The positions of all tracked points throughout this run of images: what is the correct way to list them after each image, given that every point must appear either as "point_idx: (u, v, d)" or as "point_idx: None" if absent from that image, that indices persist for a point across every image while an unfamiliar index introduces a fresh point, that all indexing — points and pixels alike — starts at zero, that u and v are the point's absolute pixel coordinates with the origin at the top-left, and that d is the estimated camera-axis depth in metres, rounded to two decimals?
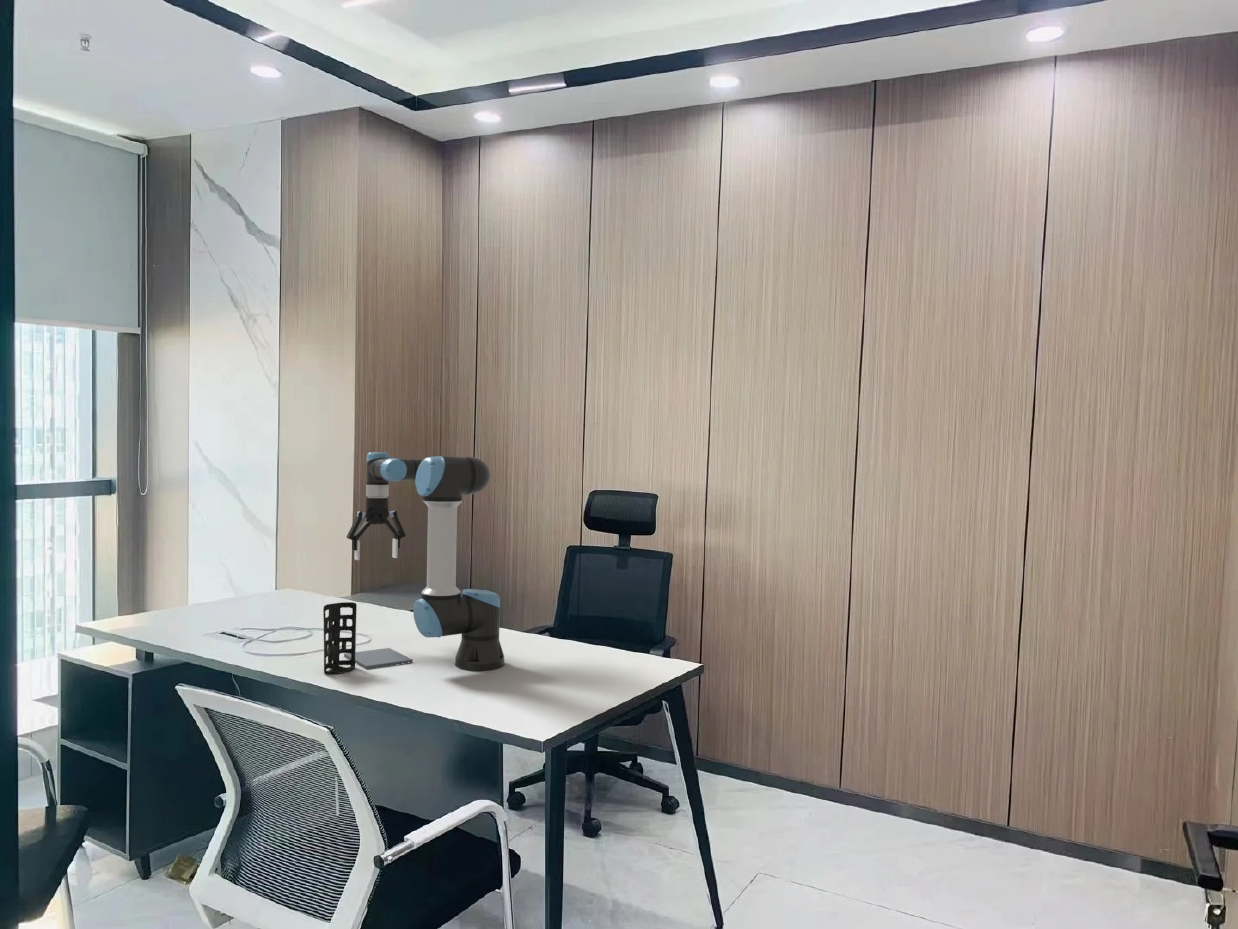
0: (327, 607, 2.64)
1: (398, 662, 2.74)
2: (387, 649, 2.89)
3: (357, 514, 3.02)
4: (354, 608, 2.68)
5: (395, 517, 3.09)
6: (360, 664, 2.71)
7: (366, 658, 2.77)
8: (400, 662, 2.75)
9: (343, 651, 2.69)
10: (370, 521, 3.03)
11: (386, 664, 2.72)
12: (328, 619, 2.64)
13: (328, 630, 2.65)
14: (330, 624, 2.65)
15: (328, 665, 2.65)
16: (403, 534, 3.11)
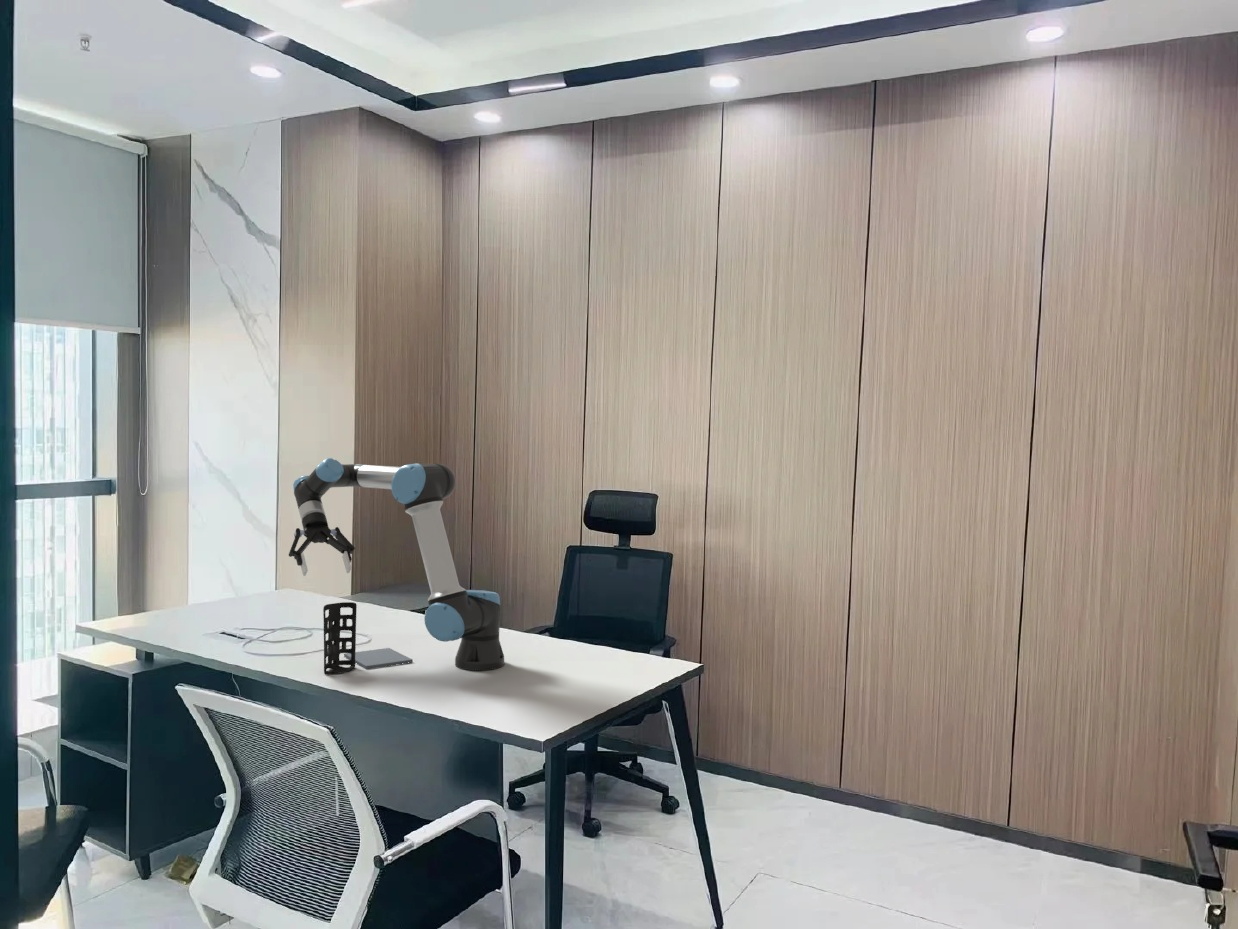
0: (327, 607, 2.64)
1: (398, 662, 2.74)
2: (387, 649, 2.89)
3: (295, 533, 2.79)
4: (354, 607, 2.68)
5: (338, 532, 2.86)
6: (360, 664, 2.71)
7: (366, 658, 2.77)
8: (400, 662, 2.75)
9: (343, 651, 2.69)
10: (310, 535, 2.79)
11: (386, 664, 2.72)
12: (328, 619, 2.64)
13: (328, 630, 2.65)
14: (330, 624, 2.65)
15: (328, 665, 2.65)
16: (352, 547, 2.84)
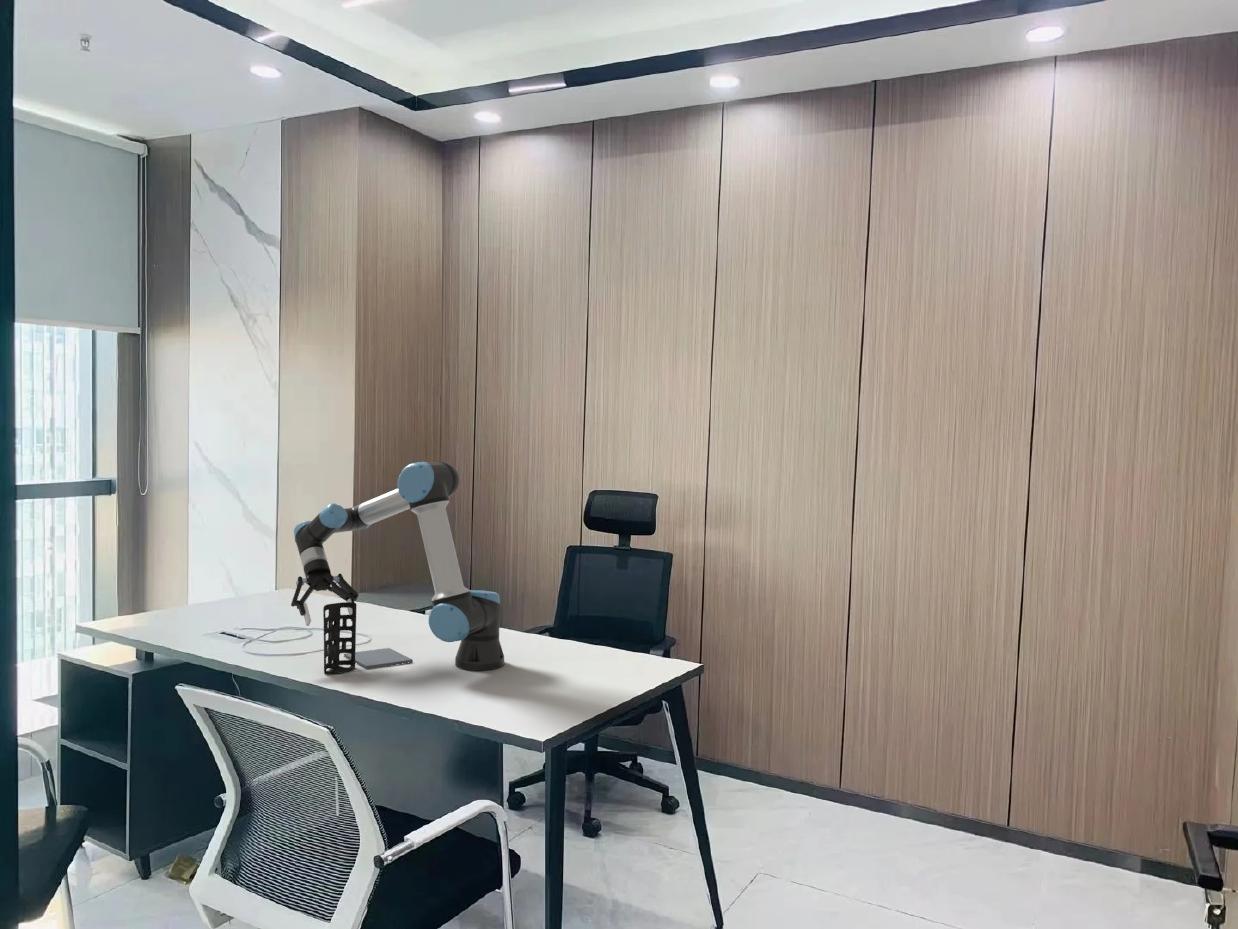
0: (327, 607, 2.64)
1: (398, 662, 2.74)
2: (387, 649, 2.89)
3: (297, 581, 2.72)
4: (354, 607, 2.68)
5: (341, 579, 2.79)
6: (360, 664, 2.71)
7: (366, 658, 2.77)
8: (400, 662, 2.75)
9: (343, 651, 2.69)
10: (313, 583, 2.73)
11: (386, 664, 2.72)
12: (328, 619, 2.64)
13: (328, 630, 2.65)
14: (330, 624, 2.65)
15: (328, 665, 2.65)
16: (355, 594, 2.78)
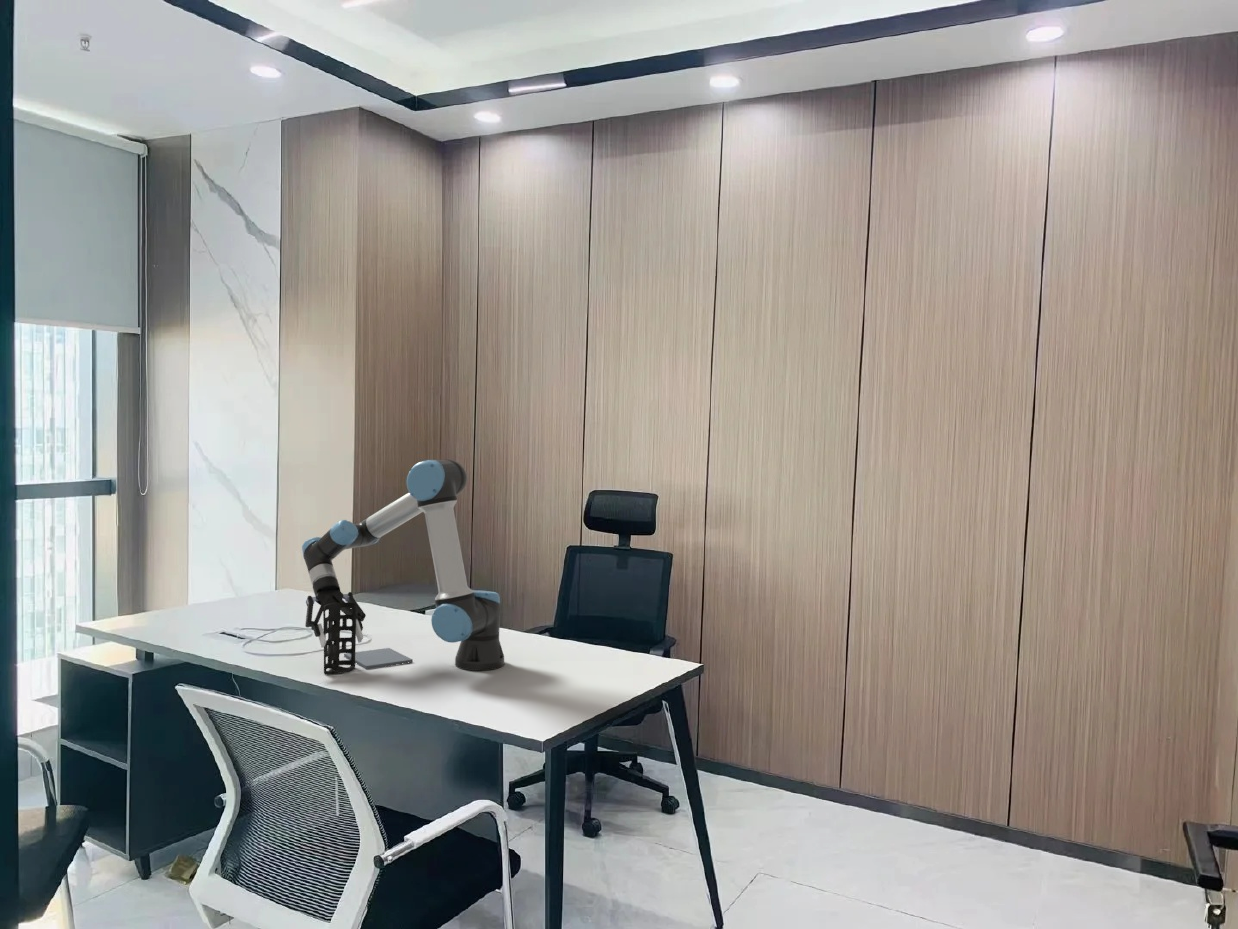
0: (327, 607, 2.64)
1: (398, 662, 2.74)
2: (387, 649, 2.89)
3: (307, 601, 2.67)
4: (354, 608, 2.68)
5: (350, 598, 2.74)
6: (360, 664, 2.71)
7: (366, 658, 2.77)
8: (400, 662, 2.75)
9: (343, 651, 2.69)
10: (323, 602, 2.68)
11: (386, 664, 2.72)
12: (328, 619, 2.64)
13: (328, 630, 2.65)
14: (330, 624, 2.65)
15: (328, 665, 2.65)
16: (363, 614, 2.72)
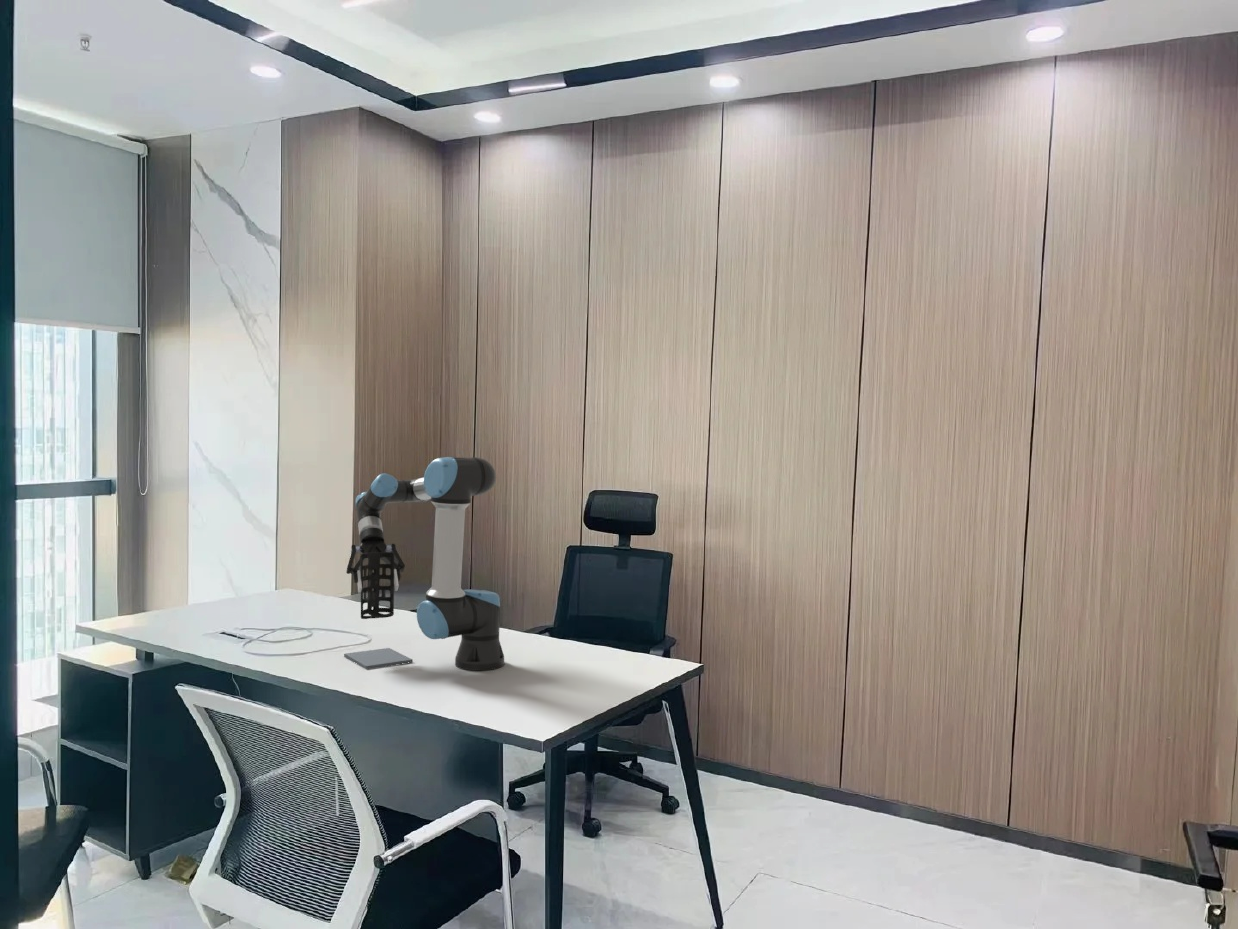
0: (366, 555, 2.77)
1: (398, 662, 2.74)
2: (387, 649, 2.89)
3: (351, 550, 2.82)
4: (392, 557, 2.80)
5: (393, 549, 2.86)
6: (360, 664, 2.71)
7: (366, 658, 2.77)
8: (400, 662, 2.75)
9: (382, 599, 2.81)
10: (366, 551, 2.82)
11: (386, 664, 2.72)
12: (367, 567, 2.78)
13: (367, 577, 2.78)
14: (369, 572, 2.79)
15: (367, 611, 2.78)
16: (402, 564, 2.83)
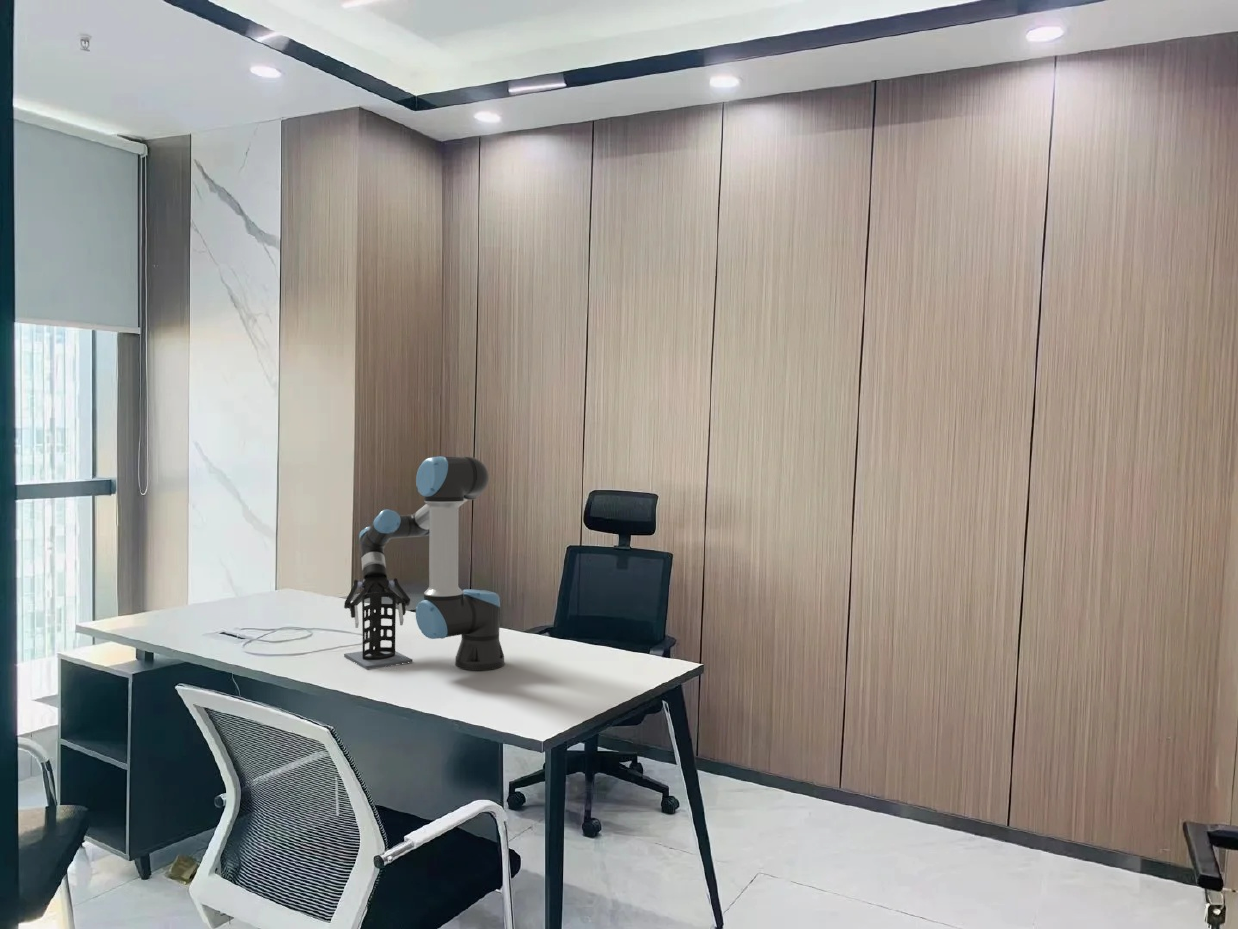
0: (367, 596, 2.78)
1: (398, 662, 2.74)
2: None
3: (353, 584, 2.84)
4: (394, 597, 2.81)
5: (396, 584, 2.88)
6: (360, 664, 2.71)
7: None
8: (400, 662, 2.75)
9: (384, 639, 2.82)
10: (367, 587, 2.83)
11: (386, 664, 2.72)
12: (369, 607, 2.79)
13: (369, 617, 2.79)
14: (371, 612, 2.80)
15: (369, 651, 2.79)
16: (407, 599, 2.85)
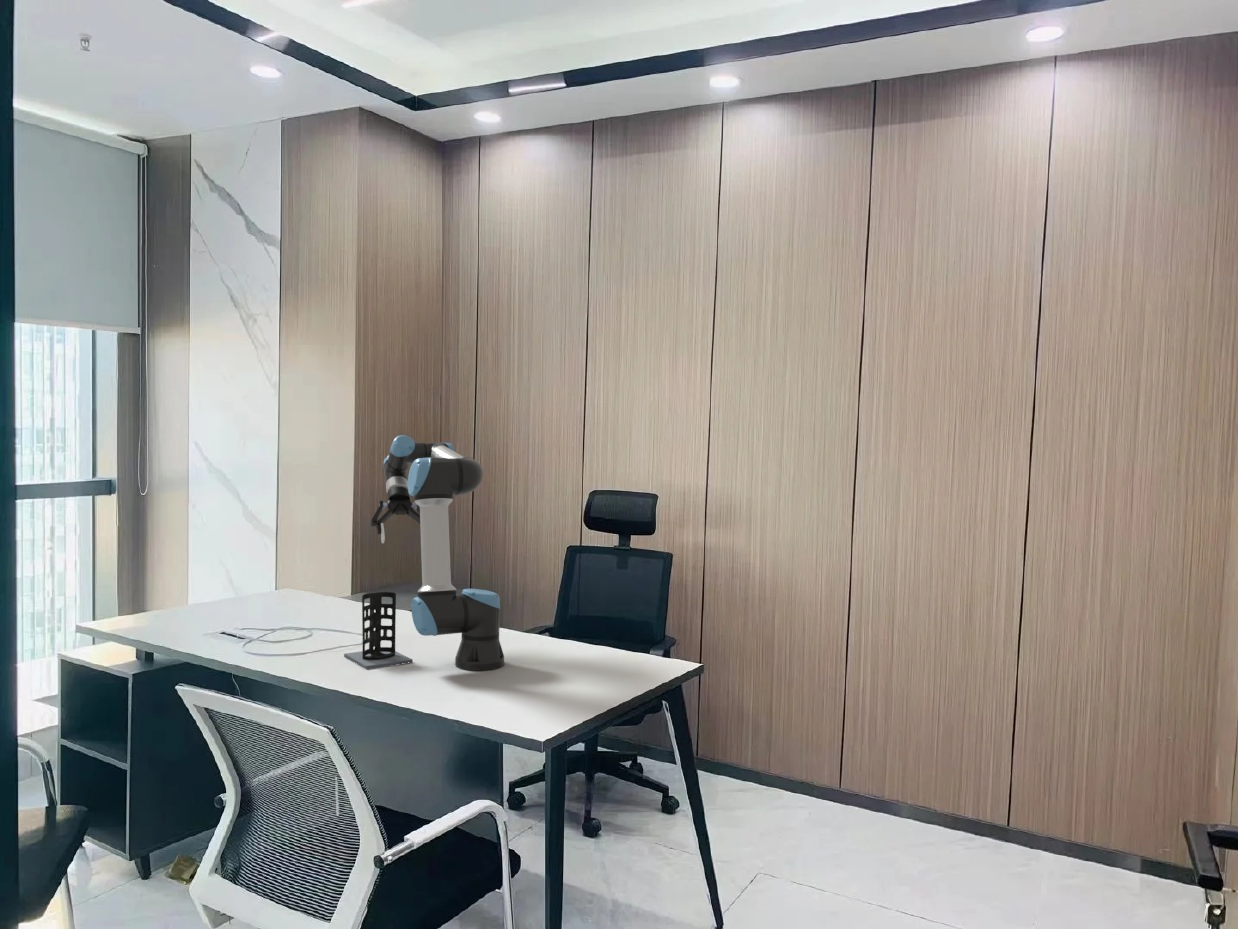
0: (367, 596, 2.78)
1: (398, 662, 2.74)
2: None
3: (379, 505, 3.03)
4: (394, 597, 2.81)
5: (418, 505, 3.07)
6: (360, 664, 2.71)
7: None
8: (400, 662, 2.75)
9: (384, 639, 2.82)
10: (392, 507, 3.02)
11: (386, 664, 2.72)
12: (369, 607, 2.79)
13: (369, 617, 2.79)
14: (371, 612, 2.80)
15: (369, 651, 2.79)
16: None
